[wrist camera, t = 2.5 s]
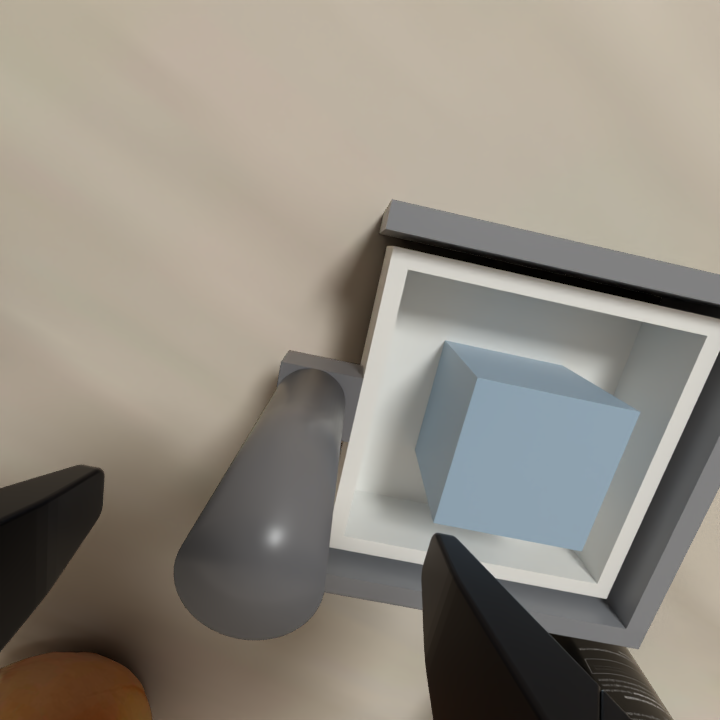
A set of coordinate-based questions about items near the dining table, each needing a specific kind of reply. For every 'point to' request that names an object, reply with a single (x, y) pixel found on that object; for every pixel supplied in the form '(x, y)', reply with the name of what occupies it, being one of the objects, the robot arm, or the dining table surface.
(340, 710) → the dining table surface
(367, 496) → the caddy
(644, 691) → the supplement bottle
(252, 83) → the dining table surface
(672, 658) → the dining table surface
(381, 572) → the bay
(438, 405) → the light blue cube
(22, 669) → the onion
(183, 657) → the dining table surface
